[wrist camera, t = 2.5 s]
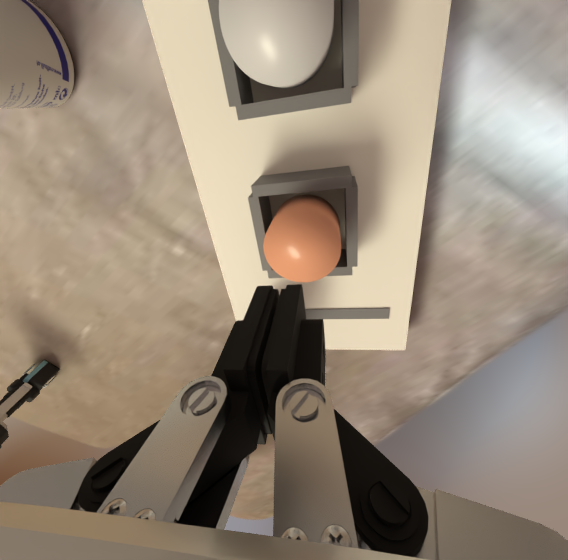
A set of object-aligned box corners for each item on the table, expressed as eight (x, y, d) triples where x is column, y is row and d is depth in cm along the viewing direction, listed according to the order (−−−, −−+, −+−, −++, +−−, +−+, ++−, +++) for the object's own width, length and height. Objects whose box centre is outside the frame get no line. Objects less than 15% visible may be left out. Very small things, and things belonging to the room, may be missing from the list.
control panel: (446, -75, 12) (498, -153, 8) (400, 333, 25) (412, 375, 21) (160, 0, 15) (102, -34, 11) (249, 333, 27) (236, 370, 24)
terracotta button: (338, 190, 15) (340, 208, 13) (340, 255, 17) (342, 281, 15) (268, 197, 16) (257, 215, 14) (278, 258, 18) (270, 283, 16)
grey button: (331, -47, 11) (331, -93, 8) (335, 80, 13) (336, 75, 10) (232, -21, 11) (204, -55, 9) (251, 95, 13) (233, 93, 11)
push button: (55, 391, 39) (-20, 469, 31) (18, 370, 38) (-71, 446, 29) (71, 373, 36) (-7, 455, 28) (32, 350, 34) (-64, 429, 26)
